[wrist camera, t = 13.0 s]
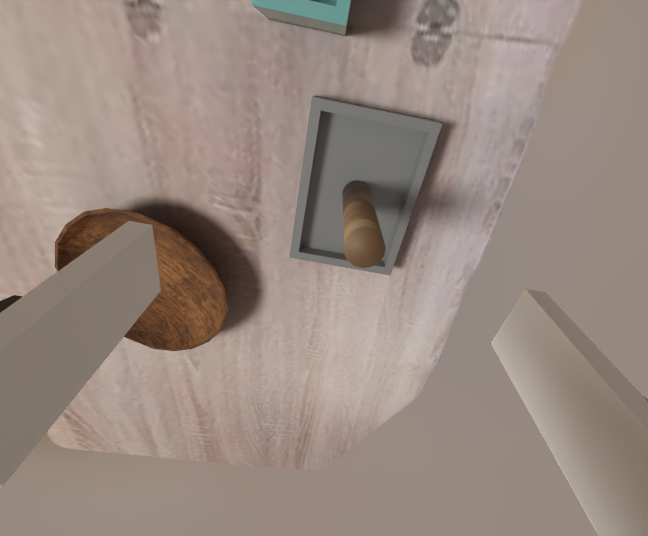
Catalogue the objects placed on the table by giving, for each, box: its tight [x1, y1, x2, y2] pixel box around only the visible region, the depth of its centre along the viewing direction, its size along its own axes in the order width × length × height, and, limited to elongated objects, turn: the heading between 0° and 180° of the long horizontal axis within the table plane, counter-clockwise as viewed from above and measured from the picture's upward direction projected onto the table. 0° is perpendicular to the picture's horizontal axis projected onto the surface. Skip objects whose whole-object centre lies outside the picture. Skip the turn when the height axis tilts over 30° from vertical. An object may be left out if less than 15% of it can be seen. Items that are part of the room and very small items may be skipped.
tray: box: [290, 96, 442, 275], centre depth 36 cm, size 13×18×2 cm
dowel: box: [342, 180, 386, 268], centre depth 30 cm, size 3×3×14 cm
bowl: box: [55, 208, 229, 351], centre depth 42 cm, size 20×22×5 cm
